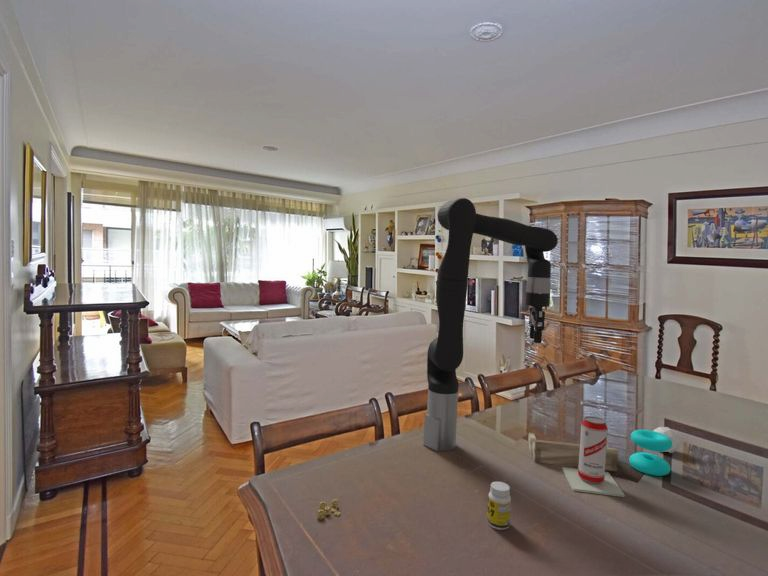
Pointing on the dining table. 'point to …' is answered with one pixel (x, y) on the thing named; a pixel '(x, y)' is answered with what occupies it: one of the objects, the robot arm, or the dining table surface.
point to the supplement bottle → (499, 506)
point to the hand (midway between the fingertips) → (535, 340)
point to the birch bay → (565, 453)
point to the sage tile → (603, 488)
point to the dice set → (327, 509)
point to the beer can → (592, 450)
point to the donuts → (646, 460)
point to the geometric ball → (671, 435)
